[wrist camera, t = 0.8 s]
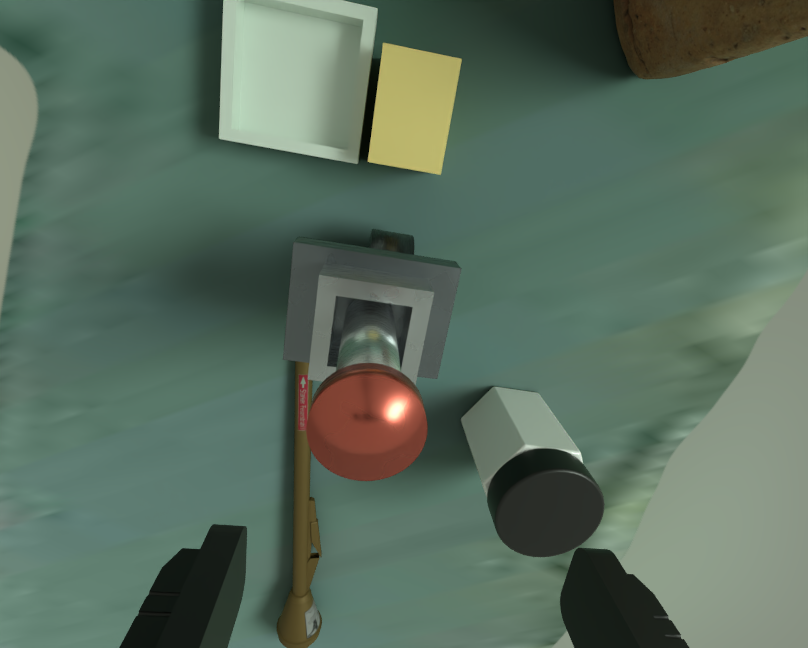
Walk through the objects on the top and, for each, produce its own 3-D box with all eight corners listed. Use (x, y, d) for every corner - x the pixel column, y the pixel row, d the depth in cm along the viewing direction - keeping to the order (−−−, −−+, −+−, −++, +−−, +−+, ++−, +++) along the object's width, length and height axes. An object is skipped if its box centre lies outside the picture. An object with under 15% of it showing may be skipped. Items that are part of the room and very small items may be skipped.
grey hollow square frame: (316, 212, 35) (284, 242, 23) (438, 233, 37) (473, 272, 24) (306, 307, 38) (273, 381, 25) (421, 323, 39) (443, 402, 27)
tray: (235, -12, 30) (224, -27, 28) (377, 19, 31) (377, 8, 29) (229, 140, 33) (218, 138, 31) (358, 163, 34) (357, 163, 32)
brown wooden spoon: (278, 337, 41) (331, 339, 42) (278, 627, 51) (321, 623, 52) (273, 357, 36) (332, 358, 37) (274, 670, 47) (320, 665, 47)
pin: (338, 279, 27) (312, 370, 15) (410, 290, 27) (438, 385, 16) (329, 346, 28) (300, 475, 17) (398, 355, 29) (415, 485, 17)
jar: (501, 475, 46) (543, 578, 34) (443, 432, 43) (467, 528, 32) (566, 415, 44) (633, 504, 32) (508, 367, 41) (559, 445, 30)
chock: (381, 59, 32) (383, 42, 28) (449, 73, 33) (461, 58, 28) (368, 161, 35) (367, 161, 30) (431, 172, 35) (440, 174, 30)
